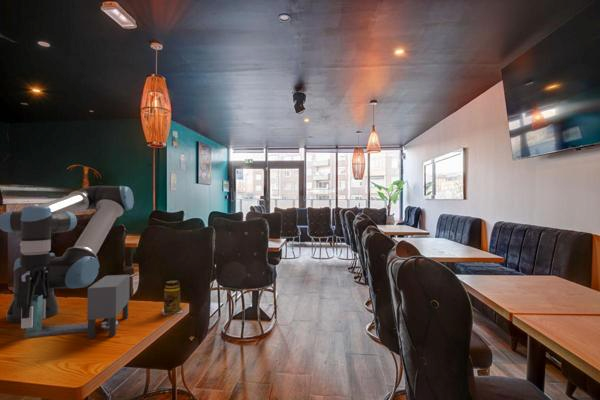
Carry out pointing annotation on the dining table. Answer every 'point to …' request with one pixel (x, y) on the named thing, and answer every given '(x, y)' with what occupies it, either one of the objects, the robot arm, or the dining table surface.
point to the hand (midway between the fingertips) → (33, 322)
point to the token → (107, 325)
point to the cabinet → (108, 301)
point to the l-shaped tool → (49, 330)
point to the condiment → (172, 298)
